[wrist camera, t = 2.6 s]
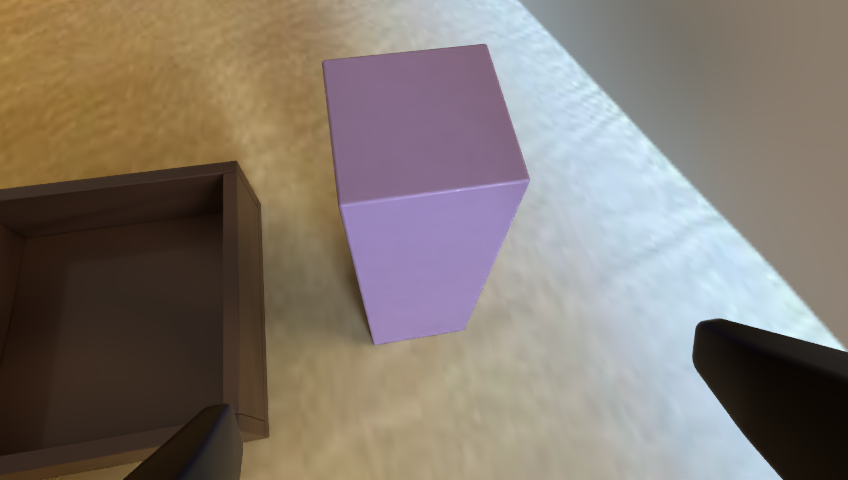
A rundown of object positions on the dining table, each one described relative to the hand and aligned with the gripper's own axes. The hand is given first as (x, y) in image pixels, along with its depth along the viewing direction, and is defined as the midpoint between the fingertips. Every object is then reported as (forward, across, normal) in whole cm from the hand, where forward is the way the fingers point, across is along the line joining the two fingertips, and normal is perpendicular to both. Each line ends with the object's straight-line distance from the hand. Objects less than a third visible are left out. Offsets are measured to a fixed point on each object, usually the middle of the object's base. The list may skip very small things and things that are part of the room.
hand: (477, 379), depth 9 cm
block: (+13, 0, +4) cm, 13 cm away
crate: (+13, +12, +4) cm, 18 cm away
